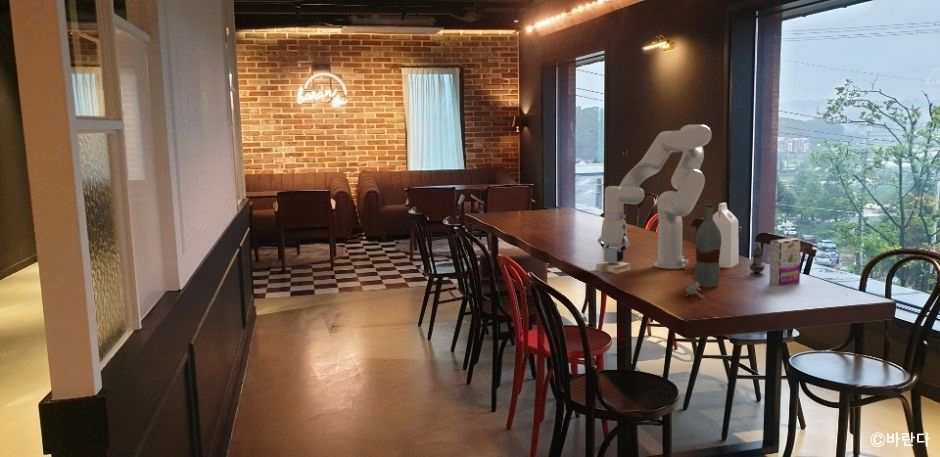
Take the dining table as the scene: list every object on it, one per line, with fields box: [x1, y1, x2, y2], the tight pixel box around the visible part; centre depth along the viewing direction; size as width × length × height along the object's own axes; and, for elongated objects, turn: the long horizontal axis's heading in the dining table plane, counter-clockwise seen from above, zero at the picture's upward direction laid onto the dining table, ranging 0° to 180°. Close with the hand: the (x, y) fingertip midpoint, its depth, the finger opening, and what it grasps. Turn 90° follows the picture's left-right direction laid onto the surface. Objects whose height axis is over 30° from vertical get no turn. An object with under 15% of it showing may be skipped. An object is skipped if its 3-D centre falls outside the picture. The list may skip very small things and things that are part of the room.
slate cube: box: [603, 246, 624, 263], centre depth 296 cm, size 6×6×6 cm
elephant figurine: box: [680, 278, 706, 300], centre depth 248 cm, size 10×6×9 cm
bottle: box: [693, 203, 722, 288], centre depth 264 cm, size 9×9×30 cm
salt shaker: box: [748, 244, 766, 277], centre depth 282 cm, size 6×6×12 cm
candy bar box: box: [768, 237, 802, 287], centre depth 266 cm, size 11×5×16 cm, turn 117°
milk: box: [713, 202, 740, 269], centre depth 303 cm, size 12×12×26 cm
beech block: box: [595, 261, 632, 274], centre depth 296 cm, size 10×10×3 cm
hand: (613, 259), depth 296 cm, fingers closed on slate cube, 5 cm apart
